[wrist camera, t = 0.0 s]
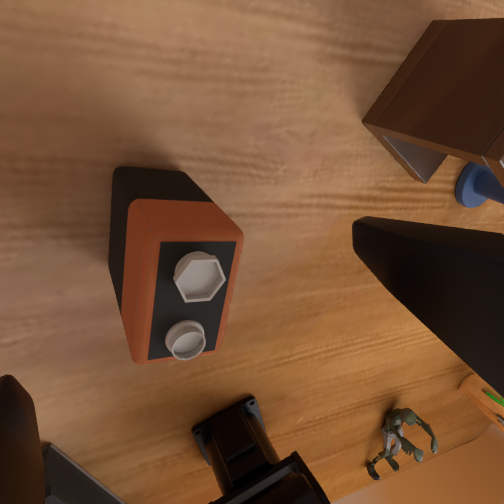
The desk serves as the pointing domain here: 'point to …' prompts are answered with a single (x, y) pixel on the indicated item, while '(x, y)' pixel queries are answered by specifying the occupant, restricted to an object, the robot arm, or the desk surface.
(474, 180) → the peg
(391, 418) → the zombie figurine
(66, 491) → the portable cd player
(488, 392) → the milkshake
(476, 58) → the brown slotted stand
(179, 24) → the desk surface
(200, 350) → the battery
